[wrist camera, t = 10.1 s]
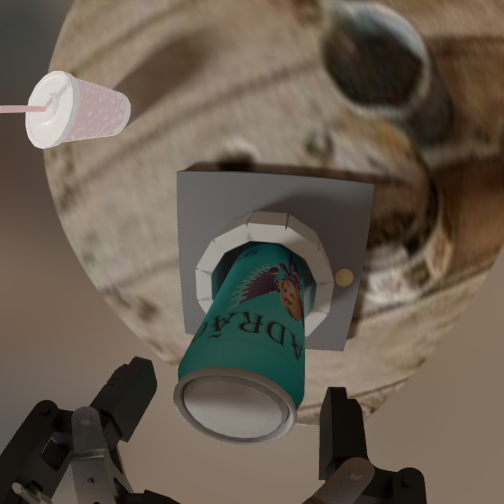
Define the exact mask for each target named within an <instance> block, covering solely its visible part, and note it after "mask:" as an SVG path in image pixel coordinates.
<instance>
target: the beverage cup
mask: <svg viewBox="0 0 504 504" xmlns="http://www.w3.org/2000/svg"><path fill="white" fill-rule="evenodd" d="M9 112H26V129H27V133H28V137H29V139H30V141H31V142H32V143H33V144H34V146H36V147H39V148H42V149H45V148H48V147H49V148H50V147H53V146H56V145H59V144H60V143H62V142H68V141H75V140H82V139H90V138H98V137H107V136H113V135H116V134H118V133H119V132H120V131H122V130H123V129H124V127H125V126H126V124H127V123H128V120H129V117H130V103H129V100H128V98H127V97H126V96H125V95H124V94H122V93H120V92H117V91H114V90H111V89H108V88H105V87H102V86H99V85H96V84H93V83H90V82H87V81H83V80H80V79H77V78H74V77H73V76H72V75H71V74H70V73H66V72H63V71H53V72H51V73H49V74H47V75H46V76H44V77H43V78H42V79H41V81H40V82H39V83H38V84H37V85H36V87H35V89H34V91H33V93H32V95H31V97H30V99H29V102H28V106H0V113H9Z"/></svg>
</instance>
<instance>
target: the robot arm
mask: <svg viewBox="0 0 504 504" xmlns="http://www.w3.org/2000/svg"><path fill="white" fill-rule="evenodd" d="M156 388H157V380H156V376H155V373H154V368H153V364H152V361H151V360H148V359H144V358H141V357H137V356H136V357H134V358H133V359H132V361H131V362H130V363H129V365H127V364H124V365H122V366H121V367H119V368H118V369H116V370H115V372H114V373H113V374H112V376H111V378H110V379H109V380H108V381H107V383H106V385H104V387H103V388H102V389H101V391H100V392H99V393H98V395H97V396H96V398H95V399H94V400H93V402H92V403H91V404H90V405H89V406H84V407H80V408H78V409H76V410H75V411H68V410H61V409H59V408H58V407H57V405H56V404H55V403H54V402H53V401H50V400H43V401H40V402H39V403H38V404H37V405H36V406H35V407H34V408H33V410H32V411H31V412H30V414H29V415H28V416H27V418H26V419H25V421H24V422H23V423H22V425H21V426H20V428H19V429H18V431H17V432H16V433H15V435H14V436H13V438H12V439H11V441H10V442H9V443H8V445H7V447H6V448H5V449H4V451H3V452H2V454H1V455H0V504H53V503H52V501H51V499H52V496H53V495H54V493H55V491H56V488H57V487H58V485H59V483H60V481H61V479H62V477H63V475H64V473H65V472H66V470H67V468H68V466H69V464H70V462H71V468H72V474H73V480H74V485H75V490H76V495H77V500H78V504H180V503H178V502H176V501H175V500H173V499H171V498H169V497H166V496H164V495H160V494H157V493H154V492H151V491H149V490H145V491H144V493H134V492H133V490H132V487H131V485H130V483H129V482H128V480H127V477H126V474H125V471H124V467H123V464H122V460H121V457H120V453H119V449H118V446H117V444H118V442H119V440H122V441H125V442H128V441H129V439H130V438H131V436H132V434H133V432H134V430H135V428H136V426H137V425H138V423H139V421H140V419H141V417H142V416H143V414H144V412H145V410H146V408H147V407H148V405H149V403H150V401H151V400H152V398H153V396H154V394H155V392H156ZM50 438H51V440H50ZM49 440H50V441H49ZM48 441H49V442H48ZM47 443H48V444H47ZM46 444H47V446H46ZM45 446H46V447H45ZM44 447H45V449H44ZM366 448H367V447H366V439H365V430H364V423H363V416H362V409H361V406H360V405H359V403H358V402H357V400H356V399H347V393H346V388H345V387H328V389H327V392H326V395H325V398H324V401H323V404H322V407H321V411H320V448H319V480H325V483H324V484H323V485H322V486H321V487H320V488H319V489H318V490H317V491H316V492H315V493H314V495H312V496H311V497H310V498H308V499H307V500H306V501H305V502H303V503H302V504H427V501H426V490H425V482H424V477H423V475H422V473H421V472H420V471H419V470H417V469H415V468H404V469H401V470H400V471H398V472H392V471H387V470H382V469H379V468H377V467H375V466H374V465H373V464H372V463H371V462H370V461H369V459H368V456H367V449H366ZM43 449H44V451H43ZM42 451H43V452H42Z"/></svg>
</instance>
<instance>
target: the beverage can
mask: <svg viewBox="0 0 504 504" xmlns="http://www.w3.org/2000/svg"><path fill="white" fill-rule="evenodd" d="M178 380H179V382H178V384H177V385H176V387H175V390H174V404H175V406H176V409H177V411H178V412H179V414H180V415H181V417H182V418H183V419H184V420H185V421H186V422H187V423H188V424H189V425H191V426H192V427H193V428H195V429H196V430H198V431H199V432H201V433H203V434H205V435H207V436H209V437H212V438H214V439H217V440H220V441H224V442H227V443H233V444H241V445H258V444H264V443H269V442H272V441H275V440H278V439H280V438H282V437H283V436H285V435H286V434H287V433H288V432H289V431H290V430H291V429H292V427H293V426H294V424H295V421H296V418H297V411H296V410H297V409H298V407H299V406H300V404H301V402H302V401H303V397H304V386H305V313H304V276H303V271H302V268H301V265H300V263H299V262H298V260H297V259H296V258H295V256H294V255H293V254H291V253H290V252H289V251H287V250H286V249H284V248H282V247H279V246H276V245H271V244H261V245H256V246H253V247H250V248H248V249H247V250H245V251H244V252H243V253H241V254H240V255H239V257H238V258H237V259H236V261H235V262H234V264H233V266H232V268H231V270H230V272H229V273H228V275H227V277H226V279H225V281H224V282H223V284H222V286H221V288H220V290H219V292H218V294H217V295H216V297H215V299H214V301H213V303H212V305H211V306H210V308H209V310H208V312H207V314H206V316H205V318H204V319H203V321H202V323H201V325H200V327H199V329H198V330H197V332H196V334H195V336H194V338H193V340H192V342H191V344H190V345H189V347H188V349H187V351H186V353H185V355H184V357H183V358H182V360H181V362H180V365H179V368H178Z"/></svg>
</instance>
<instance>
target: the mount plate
mask: <svg viewBox="0 0 504 504" xmlns="http://www.w3.org/2000/svg"><path fill="white" fill-rule="evenodd" d="M374 187H375V184H372V183H370V182H362V181H355V180H346V179H337V178H328V177H318V176H307V175H295V174H281V173H265V172H244V171H210V170H183V171H178V172H177V218H178V243H179V261H180V277H181V290H182V302H183V313H184V323H185V333H186V334H192V335H195V334H196V332H197V330H198V329H199V327H200V325H201V323H202V321H203V319H204V318H205V316H206V314H207V312H208V310H209V308H210V306H211V305H212V303H213V301H214V299H215V297H216V295H217V294H218V292H219V290H220V288H221V286H222V284H223V282H224V281H225V279H226V277H227V275H228V273H229V272H230V270H231V268H232V266H233V264H234V262H235V261H236V259H237V258H238V257H239V255H240V254H241V253H243V252H244V251H245V250H247V249H248V248H250V247H253V246H256V245H261V244H271V245H276V246H279V247H282V248H284V249H286V250H287V251H289V252H290V253H291V254H293V255H294V256H295V258H296V259H297V260H298V262H299V263H300V265H301V268H302V271H303V276H304V313H305V349H316V350H332V351H343V350H344V347H345V343H346V339H347V335H348V332H349V328H350V324H351V320H352V315H353V311H354V307H355V303H356V298H357V293H358V289H359V284H360V279H361V274H362V269H363V263H364V258H365V252H366V246H367V240H368V234H369V227H370V220H371V212H372V204H373V196H374Z"/></svg>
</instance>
